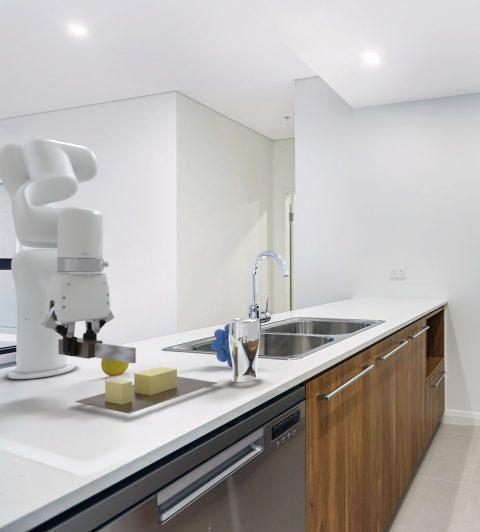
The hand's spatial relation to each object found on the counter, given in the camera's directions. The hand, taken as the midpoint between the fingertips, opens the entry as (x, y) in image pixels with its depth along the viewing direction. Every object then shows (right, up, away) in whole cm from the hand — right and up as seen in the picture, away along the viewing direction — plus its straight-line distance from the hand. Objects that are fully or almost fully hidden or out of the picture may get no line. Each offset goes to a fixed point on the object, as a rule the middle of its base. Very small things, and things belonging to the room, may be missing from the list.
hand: (80, 352), depth 84 cm
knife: (+6, -1, -2) cm, 6 cm away
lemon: (-2, -9, +13) cm, 16 cm away
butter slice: (+13, -8, -7) cm, 17 cm away
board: (+15, -9, 0) cm, 18 cm away
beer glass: (+31, -9, +9) cm, 34 cm away
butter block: (+16, -8, +1) cm, 18 cm away
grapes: (+23, -9, +22) cm, 34 cm away
